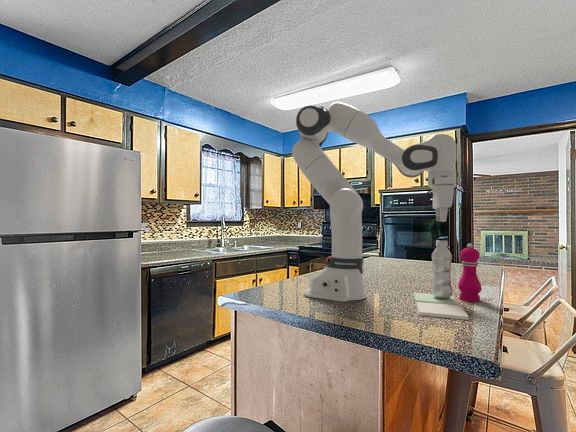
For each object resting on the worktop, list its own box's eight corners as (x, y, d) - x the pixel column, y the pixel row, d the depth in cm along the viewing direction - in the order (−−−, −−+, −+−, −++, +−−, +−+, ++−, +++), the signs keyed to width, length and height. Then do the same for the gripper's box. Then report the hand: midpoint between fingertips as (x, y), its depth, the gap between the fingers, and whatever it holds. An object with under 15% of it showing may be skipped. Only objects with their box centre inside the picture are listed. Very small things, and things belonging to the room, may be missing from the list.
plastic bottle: (442, 301, 105) (443, 241, 105) (426, 296, 111) (427, 240, 111) (456, 299, 107) (457, 241, 107) (440, 295, 113) (440, 239, 114)
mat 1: (415, 303, 106) (415, 300, 106) (413, 295, 117) (413, 292, 117) (459, 307, 102) (458, 303, 102) (452, 298, 113) (452, 295, 113)
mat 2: (419, 315, 92) (419, 311, 92) (416, 304, 104) (416, 301, 104) (468, 320, 88) (468, 316, 88) (460, 308, 100) (460, 305, 100)
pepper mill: (485, 303, 107) (485, 244, 107) (462, 301, 108) (462, 243, 109) (476, 297, 114) (477, 242, 114) (455, 296, 116) (455, 242, 116)
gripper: (428, 185, 120) (428, 221, 120) (435, 178, 101) (434, 221, 101) (447, 184, 118) (446, 221, 118) (457, 177, 99) (456, 221, 99)
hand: (441, 221), depth 109 cm, fingers open, 8 cm apart
